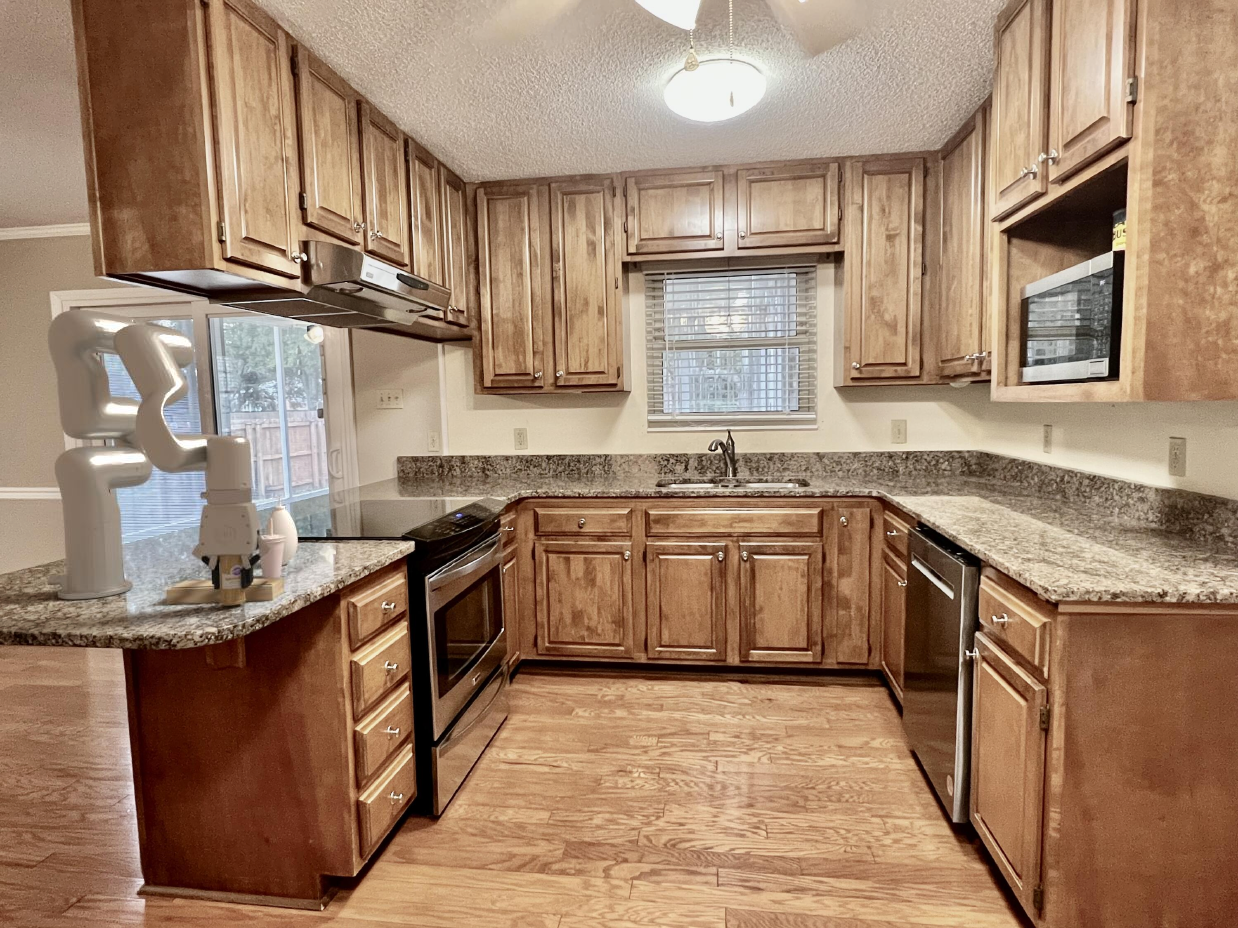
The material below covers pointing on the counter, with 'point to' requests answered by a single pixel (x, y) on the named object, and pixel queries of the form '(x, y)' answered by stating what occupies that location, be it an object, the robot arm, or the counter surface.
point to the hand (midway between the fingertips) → (233, 586)
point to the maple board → (207, 594)
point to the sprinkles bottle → (231, 580)
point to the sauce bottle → (283, 531)
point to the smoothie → (272, 554)
